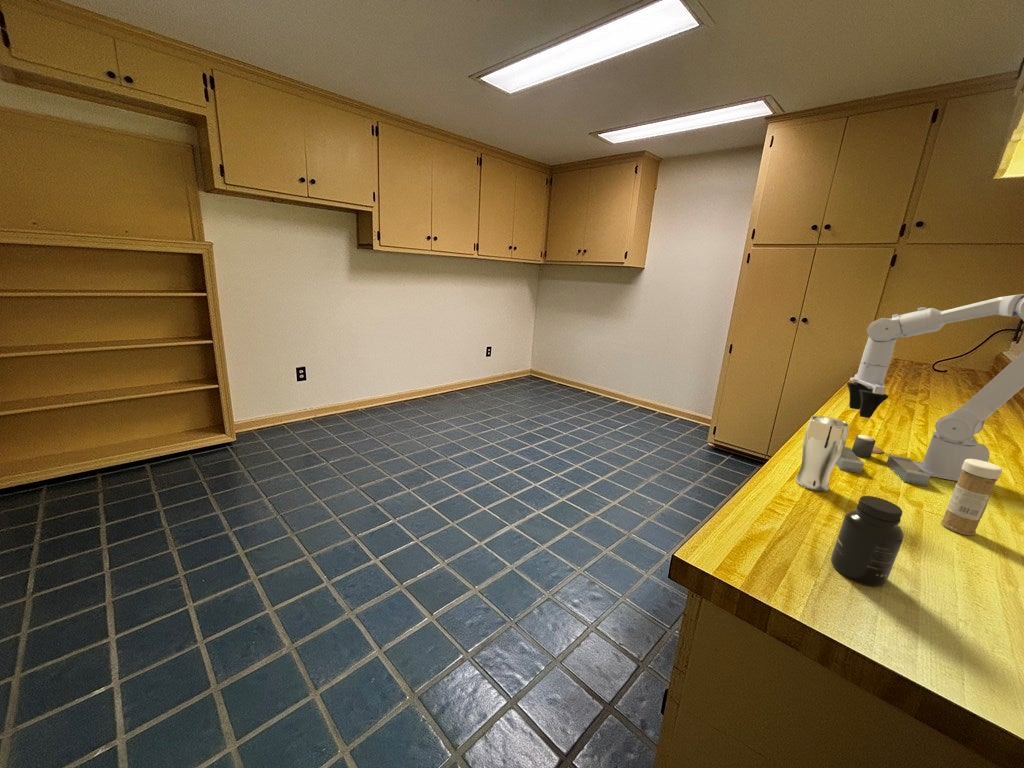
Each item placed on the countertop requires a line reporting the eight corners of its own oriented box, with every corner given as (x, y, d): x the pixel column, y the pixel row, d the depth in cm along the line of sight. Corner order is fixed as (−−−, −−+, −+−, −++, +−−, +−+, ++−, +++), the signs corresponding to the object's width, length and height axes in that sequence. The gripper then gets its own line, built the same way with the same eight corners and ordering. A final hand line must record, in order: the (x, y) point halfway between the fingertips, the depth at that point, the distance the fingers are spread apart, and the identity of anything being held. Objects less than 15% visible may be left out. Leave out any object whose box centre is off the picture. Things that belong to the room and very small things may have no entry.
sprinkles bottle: (977, 531, 76) (1005, 466, 72) (971, 539, 73) (1000, 471, 69) (942, 518, 79) (968, 455, 76) (936, 525, 77) (962, 460, 73)
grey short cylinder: (867, 453, 108) (872, 436, 107) (872, 459, 105) (878, 441, 103) (848, 450, 110) (854, 433, 108) (853, 456, 106) (859, 438, 105)
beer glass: (826, 482, 91) (845, 419, 87) (834, 496, 85) (855, 429, 81) (789, 474, 94) (806, 412, 90) (795, 487, 88) (813, 422, 84)
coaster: (877, 446, 113) (877, 445, 113) (886, 455, 108) (886, 453, 108) (850, 442, 116) (851, 441, 115) (858, 450, 110) (858, 448, 110)
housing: (906, 468, 101) (909, 458, 100) (926, 486, 92) (930, 475, 91) (828, 453, 107) (831, 443, 106) (840, 469, 98) (843, 459, 97)
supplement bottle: (818, 556, 66) (839, 491, 63) (857, 556, 67) (879, 491, 63) (856, 589, 59) (881, 517, 56) (899, 588, 60) (926, 517, 57)
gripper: (846, 357, 115) (833, 402, 119) (866, 367, 103) (850, 418, 106) (877, 360, 113) (863, 407, 117) (901, 371, 100) (884, 423, 104)
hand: (859, 412), depth 111 cm, fingers open, 7 cm apart
